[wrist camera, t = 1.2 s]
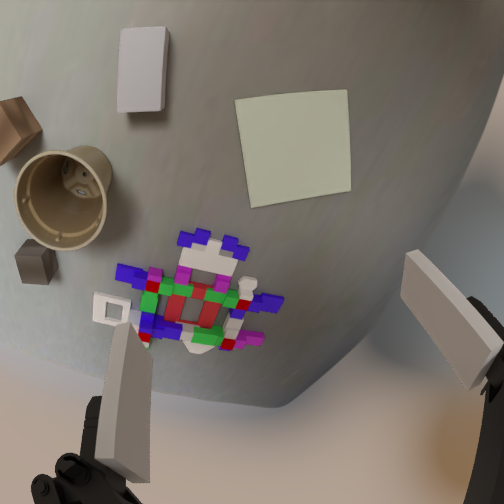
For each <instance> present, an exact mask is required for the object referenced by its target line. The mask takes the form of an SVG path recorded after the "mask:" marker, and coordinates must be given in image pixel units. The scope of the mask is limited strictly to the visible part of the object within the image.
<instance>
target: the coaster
mask: <svg viewBox="0 0 504 504" xmlns="http://www.w3.org/2000/svg"><path fill="white" fill-rule="evenodd" d="M234 102H235V109H236V115H237V122H238V128H239V135H240V141H241V148H242V154H243V161H244V168H245V174H246V181H247V188H248V194H249V201H250V207H251V208H255V207H260V206H265V205H271V204H276V203H282V202H287V201H293V200H299V199H305V198H310V197H316V196H322V195H328V194H335V193H341V192H347V191H351V163H350V133H349V113H348V98H347V90H345V89H342V90H322V91H307V92H295V93H285V94H275V95H267V96H259V97H251V98H244V99H238V100H234Z"/></svg>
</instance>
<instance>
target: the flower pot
mask: <svg viewBox="0 0 504 504" xmlns="http://www.w3.org/2000/svg"><path fill="white" fill-rule="evenodd" d="M66 163H68V168H67V173H65V171H64V167H65V164H66ZM84 172H85V173H86V176H84V175H83V173H84ZM111 177H112V170H111V166H110V164H109V162H108V160H107V158H106V156H105V155H104V154H103V153H102V152H101V151H100V150H98V149H97V148H94V147H91V146H79V147H76V148H73V149H70V150H67V151H61V150H50V151H46V152H42V153H40V154H38V155H36V156H34V157H33V158H31V159H30V160H29V161H28V162H27V163H26V164H25V165H24V166H23V168H22V169H21V171H20V173H19V175H18V177H17V179H16V183H15V188H14V202H15V208H16V212H17V215H18V217H19V220H20V222H21V224H22V225H23V227H24V229H25V230H26V231H27V232H28V234H29V235H30V236H31V237H32V238H33V239H34V240H35V241H37V242H38V243H40V244H41V245H43V246H45V247H47V248H50V249H52V250H57V251H73V250H78V249H81V248H83V247H85V246H87V245H88V244H89V243H91V242H92V241H93V240H94V239H95V238H96V237H97V236H98V234H99V233H100V231H101V230H102V227H103V225H104V222H105V219H106V215H107V197H106V194H107V191H108V188H109V185H110V182H111ZM77 190H79V191H81V190H82V191H83V192H85V194H80V193H78V192H77Z"/></svg>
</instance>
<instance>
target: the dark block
mask: <svg viewBox="0 0 504 504" xmlns="http://www.w3.org/2000/svg"><path fill="white" fill-rule="evenodd" d="M14 256H15V259H16V263H17V267H18V270H19V274H20V277H21V280H22V283H26V284H40V285H49V283H50V281H51V279H52V277H53V275H54V274H55V272H56V270H57V268H58V264H57V259H56V254H55V250H52V249H50V248H47V247H45V246H43V245H41V244H40V243H38V242H37V241H35V240H34V239H27V240H26V241H25V243H24V244H23V245H22V246H21V248H20V249H19V250H18V252H17V253H16V254H15V255H14Z"/></svg>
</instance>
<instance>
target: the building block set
mask: <svg viewBox="0 0 504 504" xmlns="http://www.w3.org/2000/svg"><path fill="white" fill-rule="evenodd" d="M210 234H211V231H207V230H203V229H199V228H196V231H195V235H194V234H192V233H188V232H184V231H180V234H179V238H178V242H177V246H182V247H183V249H182V252H181V256H180V259H179V263H178V266H177V270H176V273H175V277H174V279H173V278H168V277H164V276H162V271H163V270H161V269H157V268H153V267H149V272H146V271H143V269H141V268H136V267H132V266H128V265H123V264H119V263H118V264H117V270H116V277H115V280H118V281H122V282H127V283H131V284H132V288H135V289H140V290H143V294H142V299H141V304H140V311H136V310H132V309H130V307H131V300H130V299H126V298H122V297H117V296H113V295H109V294H104V293H100V292H96V291H95V292H94V303H93V321H95V322H99V323H104V324H108V325H112V326H116V324H121V323H126V322H131V324H132V326H133V327H134V329H135V331H136V333H137V334H138V336H139V338H140V339H141V341H142V343H143V344H144V346H145V348H146V349H147V350H148V347H149V343H150V337H153V338H159V339H162V338H169V339H174V340H182V341H183V343H184V344H185V346H186V347H187V349H188V350H189V352H190V353H196V354H202V353H204V352H206V351H208V350H210V349H212V348H213V347H215V345H217V346H218V347H219V350H225V351H230V350H232V349H233V348H239V349H243V347H244V345H245V344H249V345H256V346H261V344H262V342H263V341H264V339H265V337H264V334H263V333H260V332H253V331H246V330H240V328H241V326H242V324H243V322H244V317H243V316H244V314H245V312H246V311H251V312H257V313H259V311H265V312H271V313H277V312H278V311H279V309H280V307H281V305H282V303H283V301H284V297H281V296H276V295H271V294H266V293H262V294H261V295H256V294H253V292H252V291H253V290H254V289H255V288H257V287H258V286H257V279H256V278H252V277H248V276H243V277H242V278H240V279H239V280H238V284H239V286H240V287H239V289H238V291H235V290H230V289H228V288H229V285H230V280H231V277H232V275H233V272H234V270H235V267H236V265H237V262H238V260H242V261H245V259H246V257H247V255H248V252H249V247H245V246H241V245H237V243H238V241H239V240H238V238H236V237H232V236H228V235H224V238H223V240H222V241H221V240H217V239H212V238H209V237H210ZM192 268H194V269H198V270H203V271H208V272H212V273H217V276H216V278H215V281H214V284H213V286H210V285H206V284H201V283H196V282H191V281H189V279H190V276H191V270H192ZM147 276H148V277H147ZM159 294H163V295H167V296H169V298H168V302H167V306H166V310H165V314H164V316H160V315H155V311H156V306H157V302H158V296H159ZM186 297H191V298H196V299H201V300H205V302H204V305H203V308H202V310H201V313H200V316H199V319H198V322H191V321H186V320H181V319H179V318H180V315H181V311H182V308H183V305H184V301H185V298H186ZM107 302H109V303H114V304H118V305H122V306H123V312H122V319H121V320H118V319H113V318H109V317H105V316H106V305H107ZM221 303H222V305H223V307H228V308H229V313H228V315H227V317H226V320H225V322H224V324H223V327H220V326H214V325H213V323H214V320H215V318H216V315H217V313H218V310H219V308H220V305H221ZM141 311H142V312H141Z"/></svg>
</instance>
